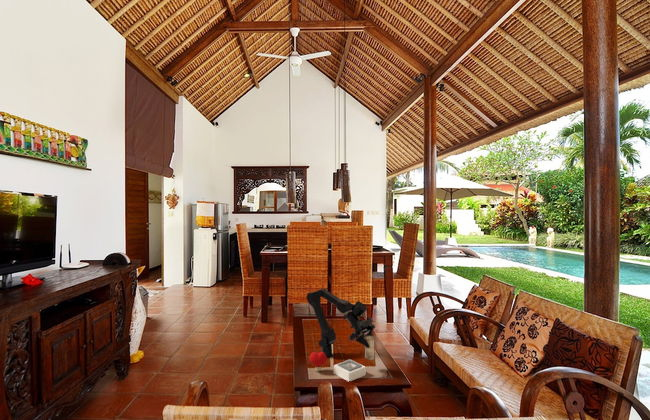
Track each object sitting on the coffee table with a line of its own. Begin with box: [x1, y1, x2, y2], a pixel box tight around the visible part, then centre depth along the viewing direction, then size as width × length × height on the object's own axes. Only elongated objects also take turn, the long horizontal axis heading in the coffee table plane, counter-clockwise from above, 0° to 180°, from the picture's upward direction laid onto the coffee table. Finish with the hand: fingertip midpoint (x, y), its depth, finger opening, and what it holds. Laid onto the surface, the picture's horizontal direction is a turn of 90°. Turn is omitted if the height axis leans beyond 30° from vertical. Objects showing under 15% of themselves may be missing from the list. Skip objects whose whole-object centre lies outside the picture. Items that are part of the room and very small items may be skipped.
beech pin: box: [364, 335, 375, 361], centre depth 182 cm, size 5×5×11 cm
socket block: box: [333, 359, 367, 383], centre depth 177 cm, size 12×12×5 cm
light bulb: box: [309, 351, 328, 373], centre depth 180 cm, size 9×7×10 cm
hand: (371, 346), depth 181 cm, fingers closed on beech pin, 5 cm apart
